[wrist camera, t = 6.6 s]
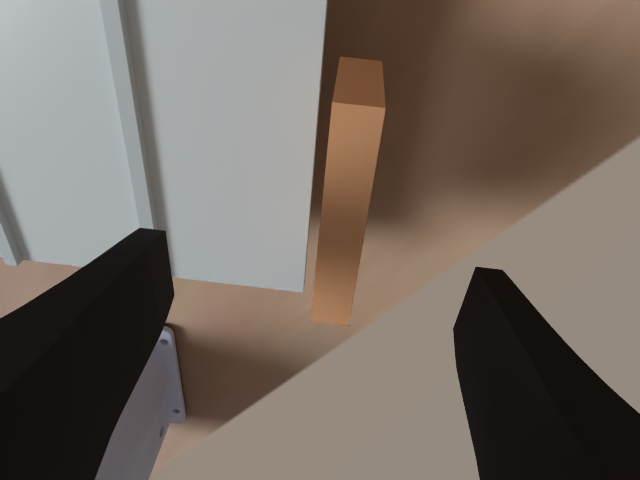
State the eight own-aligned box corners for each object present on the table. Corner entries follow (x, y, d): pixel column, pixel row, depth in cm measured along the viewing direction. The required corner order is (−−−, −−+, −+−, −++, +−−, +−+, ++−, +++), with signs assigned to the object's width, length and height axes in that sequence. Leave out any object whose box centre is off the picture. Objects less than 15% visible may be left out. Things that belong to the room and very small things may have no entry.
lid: (345, 287, 19) (341, 371, 16) (-112, 234, 20) (-210, 305, 16) (394, -31, 13) (404, -1, 9) (-305, -104, 13) (-541, -101, 10)
